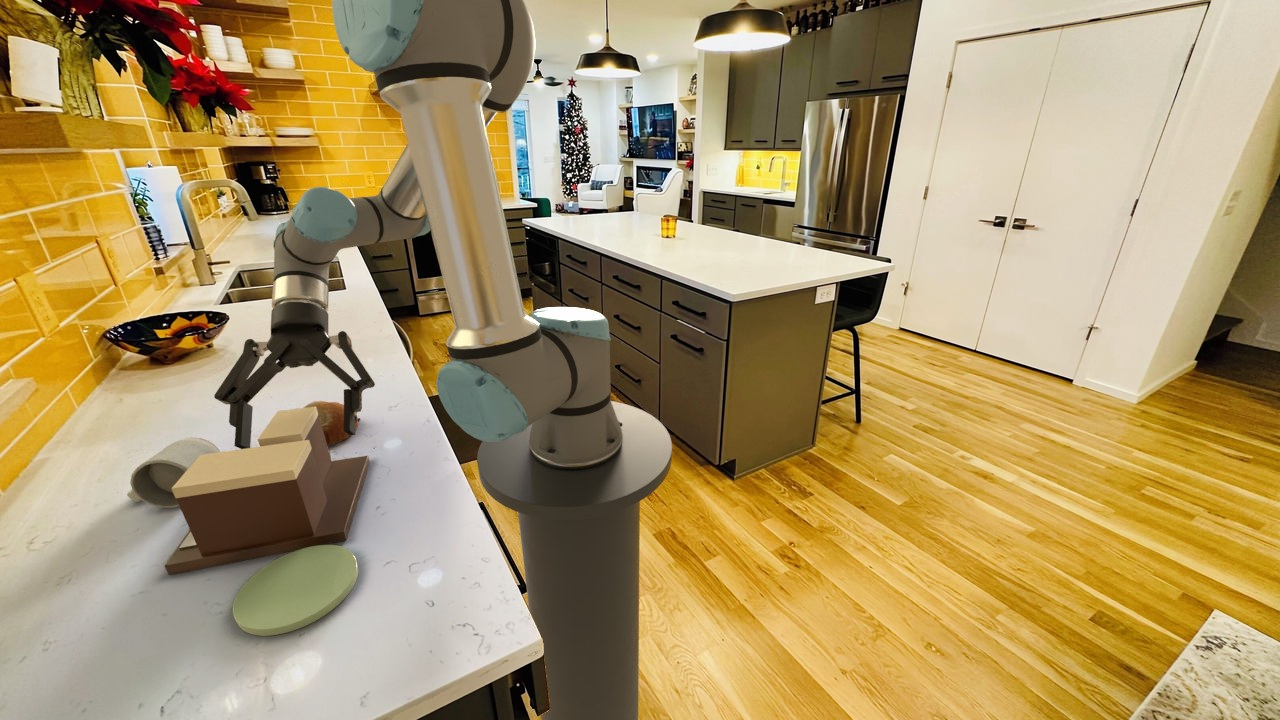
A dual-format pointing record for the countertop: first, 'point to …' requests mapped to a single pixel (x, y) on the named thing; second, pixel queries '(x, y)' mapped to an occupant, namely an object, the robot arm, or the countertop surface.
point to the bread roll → (332, 420)
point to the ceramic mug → (166, 471)
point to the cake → (251, 496)
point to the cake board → (332, 528)
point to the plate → (295, 590)
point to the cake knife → (188, 542)
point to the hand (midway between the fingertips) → (297, 440)
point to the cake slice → (299, 434)
